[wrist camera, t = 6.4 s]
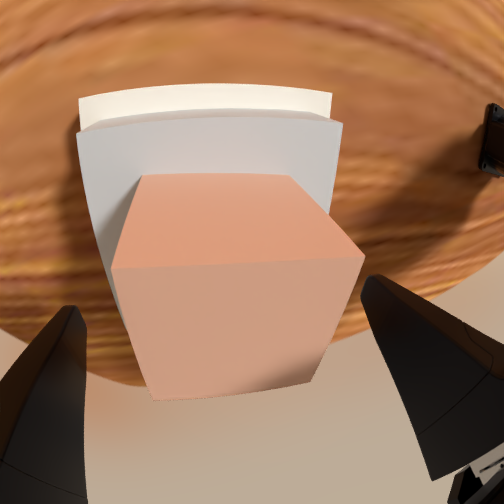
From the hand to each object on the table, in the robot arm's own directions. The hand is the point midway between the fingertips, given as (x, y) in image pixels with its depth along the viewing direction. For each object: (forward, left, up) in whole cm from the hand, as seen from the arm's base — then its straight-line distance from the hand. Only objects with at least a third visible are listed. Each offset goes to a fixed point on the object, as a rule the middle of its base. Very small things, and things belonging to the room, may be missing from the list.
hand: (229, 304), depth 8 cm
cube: (0, 0, -3) cm, 3 cm away
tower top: (0, 0, -6) cm, 6 cm away
